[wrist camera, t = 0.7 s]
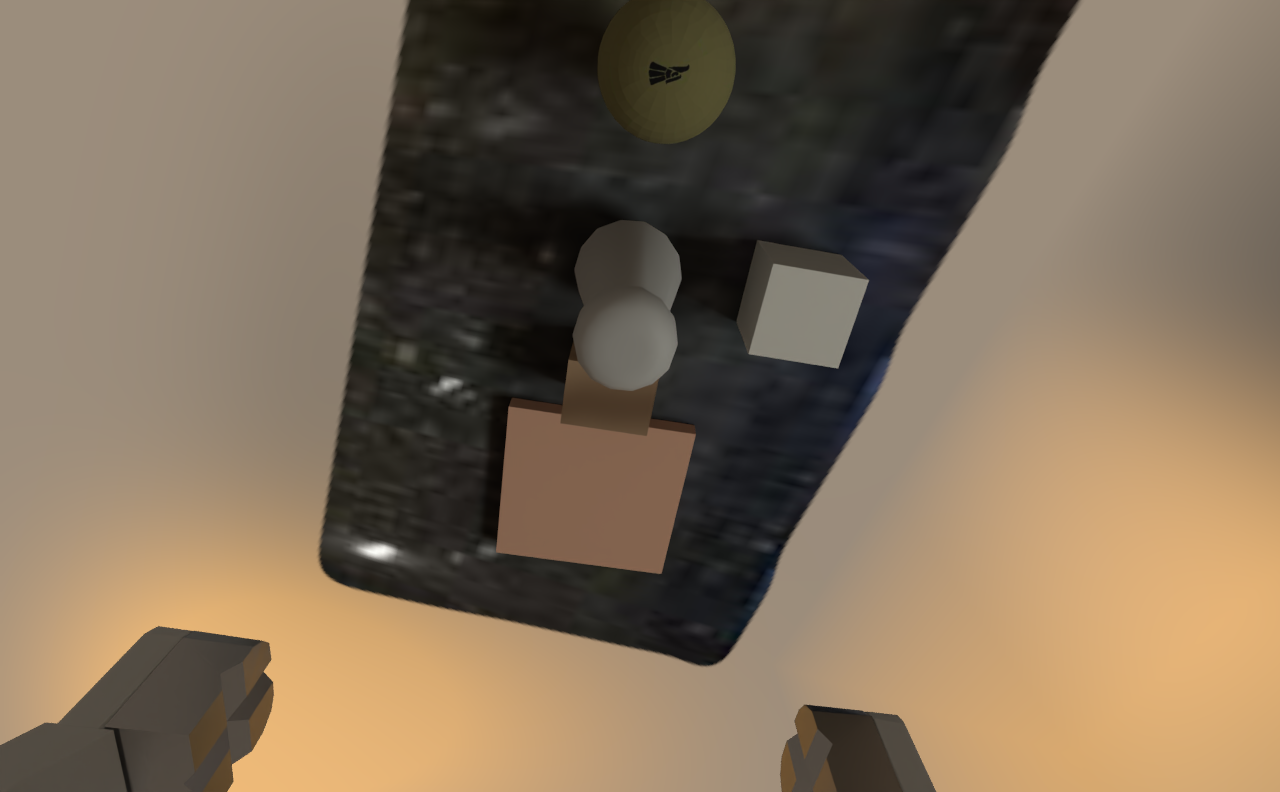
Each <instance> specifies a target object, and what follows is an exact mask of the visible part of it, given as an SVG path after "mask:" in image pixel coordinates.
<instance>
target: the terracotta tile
mask: <svg viewBox="0 0 1280 792" xmlns="http://www.w3.org/2000/svg"><path fill="white" fill-rule="evenodd" d="M562 406H563V405H558V404H551V403H544V402H538V401H531V400H525V399H518V398H512V399H511V402H510V405H509V409H508V421H507V433H506V444H505V456H504V467H503V479H502V491H501V502H500V514H499V526H498V537H497V549H496V552H498V553H506V554H513V555H521V556H529V557H536V558H544V559H551V560H559V561H567V562H574V563H582V564H590V565H597V566H605V567H612V568H620V569H628V570H635V571H643V572H650V573H658V574H661V573H662V569H663V565H664V561H665V557H666V553H667V549H668V545H669V541H670V537H671V533H672V528H673V524H674V520H675V516H676V512H677V508H678V504H679V500H680V496H681V492H682V488H683V484H684V480H685V476H686V472H687V468H688V464H689V460H690V456H691V452H692V448H693V444H694V440H695V436H696V432H695V426H694V425H691V424H684V423H677V422H671V421H664V420H657V419H651V418H650V423H649V428H648V433H647V436H643V435H636V434H629V433H622V432H616V431H609V430H602V429H595V428H588V427H582V426H575V425H568V424H561V423H560V421H561V414H562Z"/></svg>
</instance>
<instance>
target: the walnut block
mask: <svg viewBox="0 0 1280 792" xmlns="http://www.w3.org/2000/svg"><path fill="white" fill-rule="evenodd" d="M658 380H659V379H658ZM658 380H656V381H655V382H654V383H653V384H651V385H648V386H645V387H642V388H639V389H636V390H634V391H627V390H616V389H609V388H607V387H605V386H604V385H602V384H600V383H598V382H596V381H594V380H592V379H591V378H590V377H589V376H588V374H587V373H586V372H585V371H584V369H583V368H582V367H581V365H580V364H579V363H578V359H577V355H576V350H575V345H574V340H573V344H572V348H571V352H570V356H569V360H568V368H567V376H566V383H565V391H564V399H563V406H562V414H561V421H560V423H561V424H568V425H575V426H582V427H588V428H595V429H602V430H609V431H616V432H622V433H629V434H636V435H643V436H647V433H648V428H649V423H650V418H651V414H652V409H653V404H654V399H655V394H656V389H657V384H658Z"/></svg>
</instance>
